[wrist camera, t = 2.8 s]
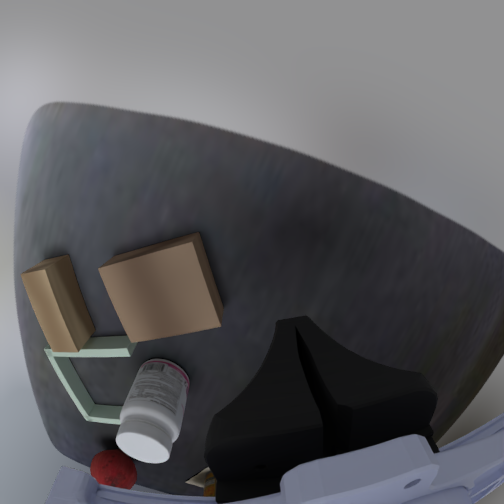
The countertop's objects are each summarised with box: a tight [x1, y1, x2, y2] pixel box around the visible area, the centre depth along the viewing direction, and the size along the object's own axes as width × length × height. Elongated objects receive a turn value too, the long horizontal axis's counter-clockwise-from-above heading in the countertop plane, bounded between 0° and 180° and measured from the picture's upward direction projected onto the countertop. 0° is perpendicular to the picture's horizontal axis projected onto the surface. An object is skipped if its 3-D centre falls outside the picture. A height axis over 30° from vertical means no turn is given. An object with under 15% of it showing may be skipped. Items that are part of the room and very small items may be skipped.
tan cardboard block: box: [98, 232, 224, 343], centre depth 20 cm, size 7×6×3 cm
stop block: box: [21, 255, 95, 352], centre depth 20 cm, size 3×7×4 cm, turn 9°
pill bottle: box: [116, 359, 189, 463], centre depth 20 cm, size 5×5×8 cm
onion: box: [90, 449, 137, 490], centre depth 24 cm, size 6×6×8 cm
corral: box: [44, 335, 138, 424], centre depth 23 cm, size 10×10×2 cm
